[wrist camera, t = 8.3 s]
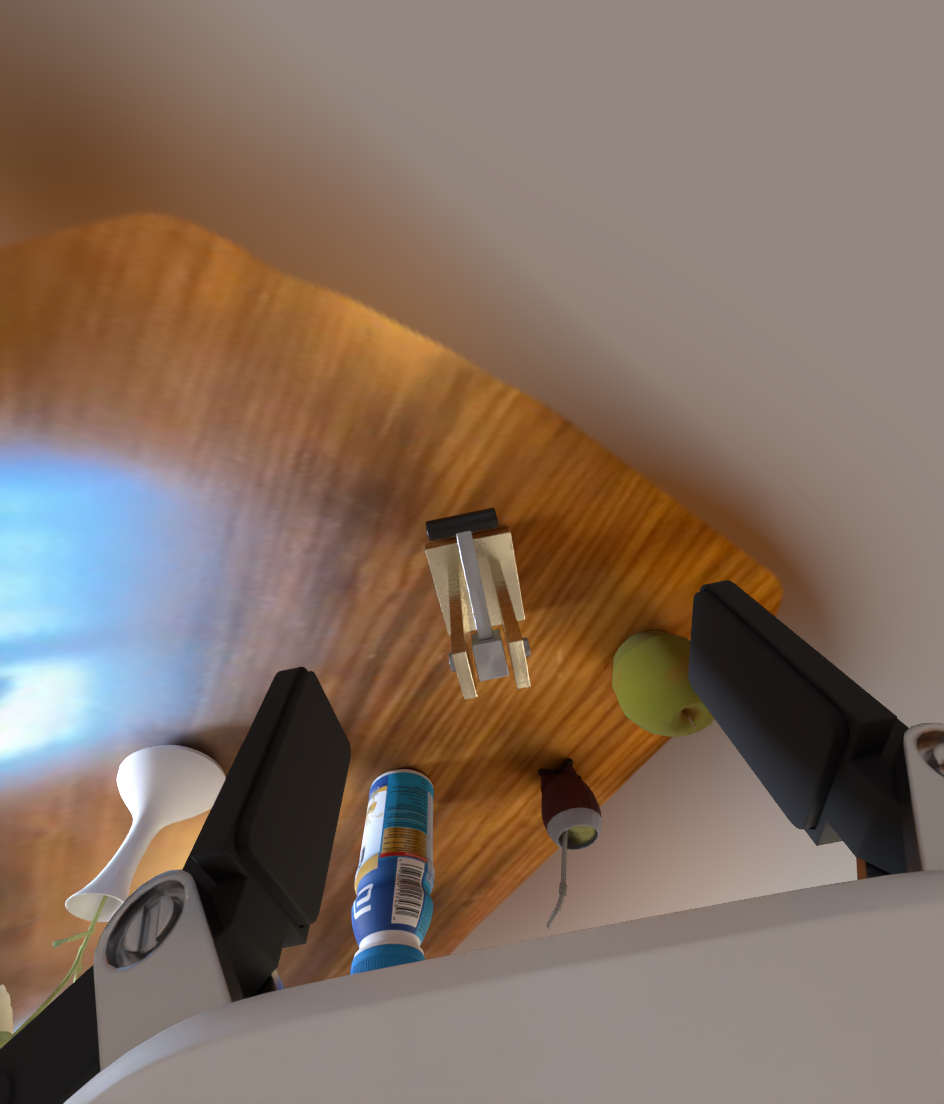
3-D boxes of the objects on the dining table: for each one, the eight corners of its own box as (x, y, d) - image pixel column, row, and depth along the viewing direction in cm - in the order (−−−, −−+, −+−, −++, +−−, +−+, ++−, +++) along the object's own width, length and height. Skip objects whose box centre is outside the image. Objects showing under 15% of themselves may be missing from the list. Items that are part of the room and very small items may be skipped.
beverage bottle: (444, 796, 55) (448, 1010, 38) (386, 814, 56) (362, 1032, 38) (419, 758, 52) (410, 975, 34) (357, 777, 52) (317, 1000, 35)
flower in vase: (142, 721, 46) (-139, 1081, 23) (246, 753, 49) (87, 1093, 27) (114, 790, 50) (-144, 1147, 28) (211, 814, 53) (50, 1150, 31)
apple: (596, 687, 49) (637, 773, 39) (599, 620, 44) (646, 698, 34) (680, 676, 49) (741, 758, 39) (691, 608, 45) (763, 682, 35)
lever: (427, 520, 31) (424, 522, 28) (493, 506, 31) (495, 508, 28) (461, 671, 33) (460, 685, 30) (523, 658, 32) (527, 672, 30)
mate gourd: (594, 762, 55) (646, 896, 41) (568, 798, 58) (607, 935, 44) (544, 751, 53) (581, 888, 40) (519, 789, 56) (545, 929, 43)
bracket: (425, 544, 39) (420, 627, 27) (508, 526, 39) (539, 602, 27) (448, 628, 43) (452, 729, 32) (523, 613, 43) (554, 709, 32)
